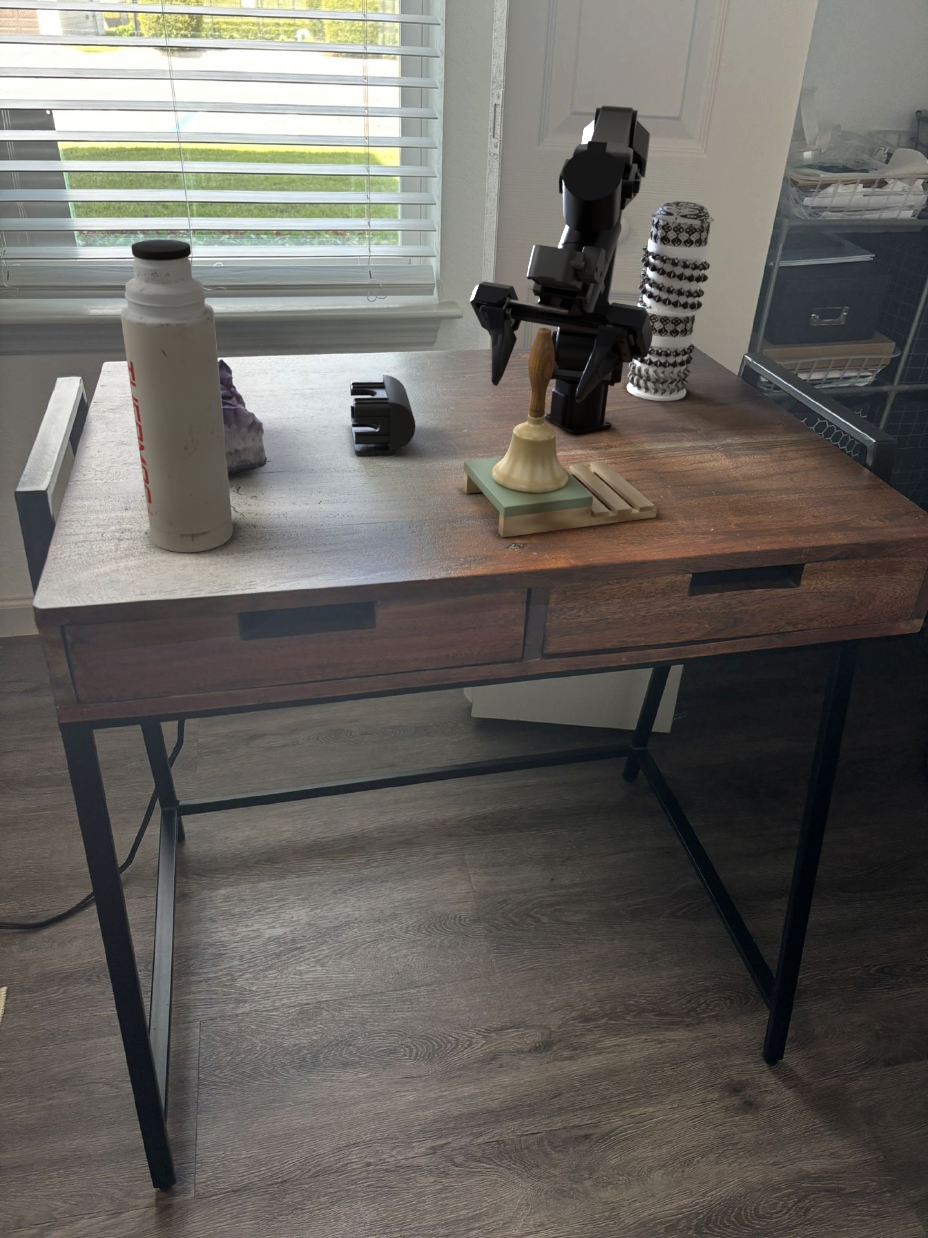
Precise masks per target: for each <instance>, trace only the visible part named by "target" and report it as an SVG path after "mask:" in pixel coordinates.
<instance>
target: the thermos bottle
mask: <svg viewBox="0 0 928 1238" xmlns="http://www.w3.org/2000/svg"><path fill="white" fill-rule="evenodd" d="M131 253H132V256H133V261H132V267H133V276H134V277H132V278H131V279H129V281H127V282H126V283H125V293H124V298H125V299H126V303H127V305H125V306H123V308H122V309H121V310H120V320H121V327H122V334H123V341H124V350H125V357H126V363H127V371H128V377H129V378H128V379H129V386H130V392H131V394H130V395H131V401H132V408H133V415H134V422H135V430H136V436H137V445H138V452H139V459H140V465H141V473H142V480H143V488H144V494H145V503H146V510H147V516H148V524H149V531H150V532H149V533H150V537H151V540H152V542H153V543H154V544H155V545H156V547H157V546H158V547H159V548H161V549H163V550H167V551H169V552H176V553H198V552H205V551H209V550H212V549H215V548H218V547H221V546H222V545H224V544H225V543H227V542H228V541H229V540H230V539H231V538H232V535H233V532H234V529H233V528H234V527H233V517H232V504H231V494H230V482H229V474H228V472H227V465H226V457H225V440H224V424H223V412H222V401H221V390H220V378H219V367H218V362H219V357H218V343H217V334H216V324H215V323H216V322H215V321H216V320H215V312H214V308H213V306H211V305H210V304H208V303H206V301H205V300H206V298H207V294H206V293H205V288H204V284H203V282H202V281H201V280H200V279H198V278H197V277H195V276H193V271H192V269H193V268H192V261H191V260H190V258H189V256H190V255H191V254H192V248H191V244H190V243H189V242H186V241H182V240H177V239H168V238H167V239H164V238H162V239H161V238H160V239H157V238H156V239H145V240H141V241H137V242H134V243H132V244H131Z"/></svg>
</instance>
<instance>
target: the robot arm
mask: <svg viewBox="0 0 928 1238" xmlns="http://www.w3.org/2000/svg"><path fill="white" fill-rule="evenodd" d="M638 111H639V110H638V109H634V108H633V107H631V106H617V105H601V107H596V109H595V114H594V119H593V120H592V121H591V122H590V123H589V124H588V125H586V126H585V127H584V128H583V131H582V132H583V133H582V140H581V143H580V144H578V145H576V147H575V148H574V149H573V151H572V155H571V158H566V159H565V161H564V163H563V166H562V168H561V170H560V173H559V178H558V194H561V195H562V210H563V211H562V214H563V215H562V217H563V220H564V223H565V228H564V230H563V232H562V234H561V238H560V241H559V243H558V245H557V247H556V246H549V245H542V244H534V245H533V247H532V251H531V256H530V260H529V264H528V269H527V274H526V279H527V280H528V281H529V280H531V281H533V285H532V288H531V289H532V293H533V296H535V297H538V298H539V299H538V301H537V303H535V302H529V301H525V300H524V301H523V300H519V298H518V295H517V293H516V290H515V287H514V286H513V285H508V284H502V283H497V282H496V283H495V282H490V281H484V280H483V281H482V282H480V283H478V284H477V285H476V286H475V287H474V288H473V291H472V293H471V294H472V295H471V297H470V299H469V303H470V305H471V308H472V309H473V311H474V314H475V315H476V318H477V320H478V323H479V324H480V326H481V328H482V329H484V330H485V331H487V332H488V335H489V336H490V338H491V379H490V380H491V383H492V385H493V386H495V387H497V386H498V385H499V384H500V382H501V381H502V378H503V377H504V374H505V372H506V368H507V366H508V364H509V360H510V359H511V356H512V353H513V350H514V348H515V346H516V343H517V339H518V337H517V336H516V333H515V332H516V331H518V330H519V328H520V326H521V323H522V322H526V323H532V324H539V325H544V326H549V327H556V328H557V330H553V331H552V333H551V335H552V341H553V345H554V351H555V362H554V369H553V373H552V377H551V380H552V381H553V380H555V385H554V388H553V389H552V391H551V402H550V410H549V413H545V415H544V420H546V421H549V422H550V423H552V424H554V425H555V426H557V427H559V428H560V429H562V430H563V431H565V432H566V433H568V434H570V435H578V434H584V433H588V432H589V433H590V432H594V431H598V430H604V429H610V428H612V426H613V425H612V424H613V423H612V422H611V421H608V420H607V419H606V410H607V402H608V394H609V386H610V387H615V384H619V383H621V382H622V375H623V369H624V363H627V364H630V363H631V362H632V360H633V357H637V358H645V357H647V355H648V352H649V349H650V346H651V343H652V336H653V334H652V328H651V323H650V317H649V314H648V312H647V310H646V308H645V307H639V306H638V305H632V304H626V303H620V302H614V301H613V302H611V303H610V296H611V289H612V282H613V275H614V270H615V262H616V256H617V250H618V244H619V243H618V242H619V238H620V236H621V232H622V229H623V228H622V227H623V226H622V225H623V224H622V218H623V217H622V216H623V211H624V210H625V209H626V207H628V205H629V204H630V203H631V202H632V201H634V199H635V198H636V197H637V195H638V194H639V193H640V190H641V185H642V178H644V179H645V178H646V172H647V166H648V159H649V149H650V148H649V147H650V140H651V134H650V132H649V131H648V130H647V128H645V126H643V125H642V123H641V122H639V121H640V120H638V113H639V112H638ZM551 380H550V381H551Z"/></svg>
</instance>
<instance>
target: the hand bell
mask: <svg viewBox="0 0 928 1238" xmlns="http://www.w3.org/2000/svg"><path fill="white" fill-rule="evenodd" d="M554 362H555V351H554V345H553V341H552V329H550V328H547V327H541V328H538V329H537V333H536V336H535V339H534V340H533V343H532V345H531V348H530V351H529V355H528V377H529V383H530V399H529V405H528V411H527V413H528V414H527V420H526V421H525V422H522V423H519V424H517V425H516V426H515V427H514V428H513V431H512V435H511V436H512V437H511V439H510V443H509V446H508V449H507V451H506V453H505V455H504V456H503V457H504V458H503V459H502V460H501V461H500V462H498V463H497V464H496V465H495V467H494V468H493V470H492V477H493V479H494V480H495V481H496V482H497V483H499V484H500V485H502V486H504V487H506V488H509V489H512V490H515V491H520V492H528V493H546V492H552V491H556V490H558V489H561V488H563V487H564V486H566V485H567V483H568V480H569V478H568V474H567V472H566V470H567V469H566V468H565V469H566V470H565V469H564V466H562V463H560V461H559V458H558V453H557V443H556V439H557V438H556V431H555V429H554V428H553V427H551V426H550V425H547V424H546V422H545V415H546V398H547V396H546V395H547V390H548V387H549V384H550V382H551V377H552V373H553V369H554Z"/></svg>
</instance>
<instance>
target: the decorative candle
mask: <svg viewBox="0 0 928 1238" xmlns="http://www.w3.org/2000/svg"><path fill="white" fill-rule="evenodd" d="M651 216H652V224H651V229H650V237H649V238H648V242H647V243H648V244H647V245H644V246H643V247H641V248H642V251H643V252H644V253H643V254H642V256H641V258H640V262H641V263H642V266H644V268H642V269H641V270H640V274H639V277H640V279H641V281H640V282H639V284H638V285H637V286H638V287H637V288H638V289H639V292H640V294H641V295H639V297H638V299H637V301H636V303H637V306H639V307H645V308H646V310H647V312H648V314H649V317H650V323H651V328H652V334H653V336H652V343H651V346H650V349H649V352H648V355H647V357H645V358H637V357H633V360H632V362H631V363H628V369H629V373H628V374H627V377H626V378H627V380H628V384H627V385H626V390H627V392H628V393H630V394H632V395H633V396H635V397H638V398H641V399H644V400H650V401H654V402H655V401H656V402H671V401H679V400H681V399H683V398H685V396H686V395H687V390H686V388H687V387H688V384H689V383H690V381H689V380H688V378H689V376H690V374H691V372H692V371H691V368H689V365H690V364H691V362H692V361H693V357H692V355H691V354H692V353H693V352H694V350H695V346H694V344H693V342H694V336H695V330H694V325H695V323H696V315H698V314H699V313H700V311H701V308H702V307H703V303H702V302H701V301H700V300H699V299H700V298H701V297H704V295H705V291H704V289H702V288H701V285H702V284H703V283H704V282H707V281H708V280H709V276H708V275H707V274H706V273H705V271H707V270H709V269H710V267H711V265H710V262H709V261H708V262H707V259H705V258H706V257H707V256H708V252H709V246H710V243H709V242H708V240H709V237H710V233H711V232H710V231H711V229H710V227H711V225H712V223H713V222H714V221H715V218H713V217H711V216H710V213H709V210H708V208H707V207H705V206H704V205H703V204H701V203H696V202H691V201H667V202H665V203H663V204H662V205H661V206H660V207H659V208H658V210H657V211H655V212H653V213H652V214H651Z"/></svg>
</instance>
